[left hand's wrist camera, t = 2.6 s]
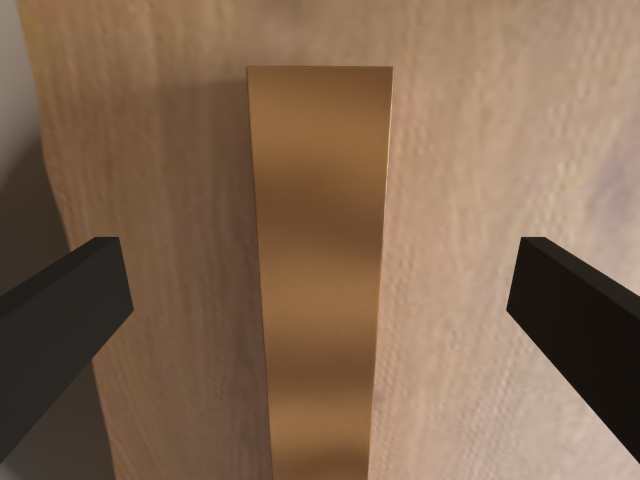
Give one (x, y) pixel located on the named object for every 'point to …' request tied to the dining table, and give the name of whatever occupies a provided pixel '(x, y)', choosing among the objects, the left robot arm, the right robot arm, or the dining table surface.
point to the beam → (320, 257)
